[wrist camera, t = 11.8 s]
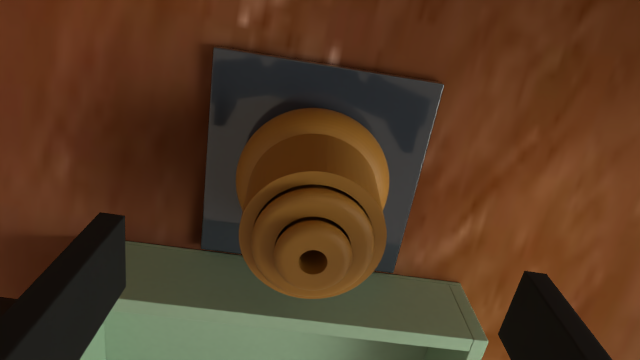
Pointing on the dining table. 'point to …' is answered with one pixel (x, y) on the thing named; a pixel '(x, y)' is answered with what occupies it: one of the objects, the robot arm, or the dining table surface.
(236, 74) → the slate tile
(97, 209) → the dining table surface
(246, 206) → the ornamental finial
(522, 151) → the dining table surface
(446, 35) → the dining table surface
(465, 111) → the dining table surface
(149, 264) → the tote
